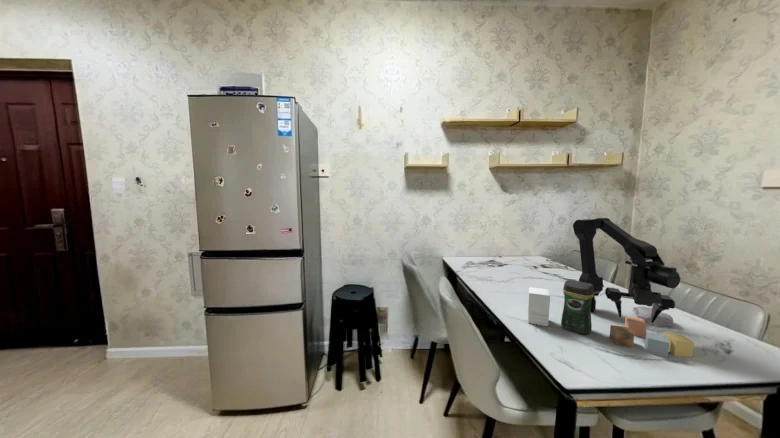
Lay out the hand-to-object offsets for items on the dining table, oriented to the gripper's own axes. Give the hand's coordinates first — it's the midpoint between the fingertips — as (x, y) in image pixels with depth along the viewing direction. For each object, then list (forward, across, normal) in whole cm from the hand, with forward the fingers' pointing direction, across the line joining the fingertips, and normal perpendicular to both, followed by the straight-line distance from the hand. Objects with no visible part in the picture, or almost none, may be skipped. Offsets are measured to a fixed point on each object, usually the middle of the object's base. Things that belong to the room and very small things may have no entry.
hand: (635, 319), depth 106 cm
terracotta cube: (+5, 0, 0) cm, 5 cm away
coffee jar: (+5, -19, -7) cm, 21 cm away
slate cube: (+5, +3, -12) cm, 13 cm away
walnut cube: (+5, -6, -11) cm, 14 cm away
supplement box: (+5, -32, -7) cm, 33 cm away
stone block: (+6, +8, +16) cm, 19 cm away
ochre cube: (+5, +9, -9) cm, 14 cm away
